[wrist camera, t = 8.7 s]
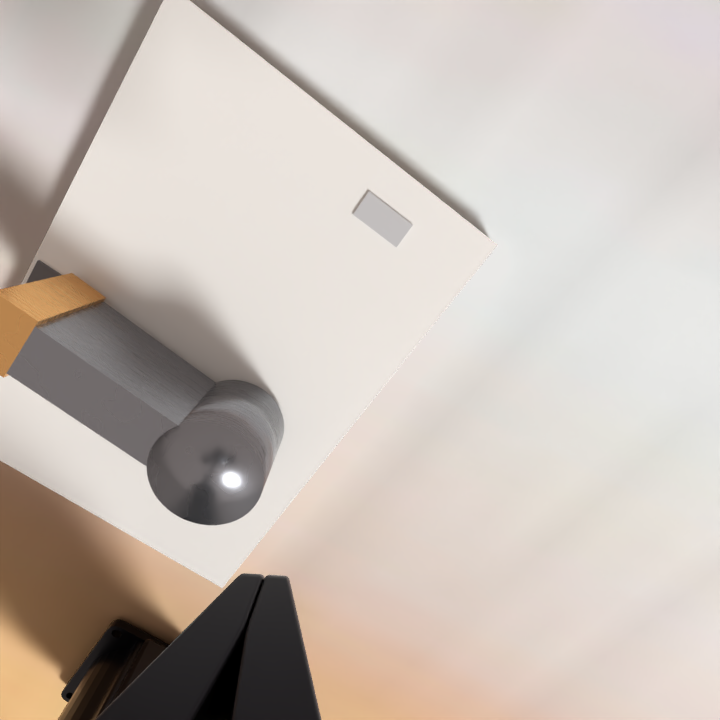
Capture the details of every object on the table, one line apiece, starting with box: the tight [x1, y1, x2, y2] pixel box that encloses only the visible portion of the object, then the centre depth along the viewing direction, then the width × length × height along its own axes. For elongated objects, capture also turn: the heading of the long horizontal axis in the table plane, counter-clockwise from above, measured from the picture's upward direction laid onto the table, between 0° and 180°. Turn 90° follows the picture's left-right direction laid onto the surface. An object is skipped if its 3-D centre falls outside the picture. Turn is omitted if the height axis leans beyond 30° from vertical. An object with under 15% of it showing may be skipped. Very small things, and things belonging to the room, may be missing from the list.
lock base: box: [0, 0, 497, 588], centre depth 20 cm, size 20×14×1 cm
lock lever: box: [0, 273, 284, 525], centre depth 18 cm, size 10×4×4 cm, turn 51°
